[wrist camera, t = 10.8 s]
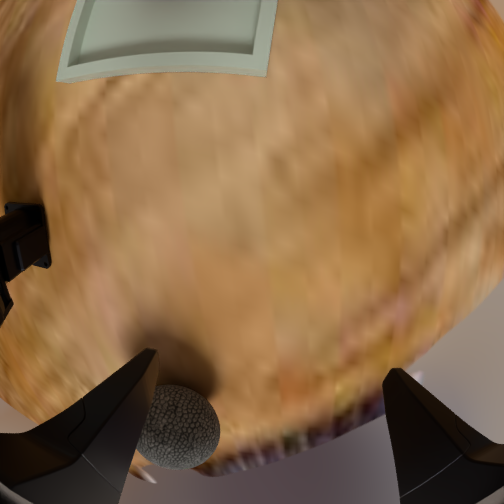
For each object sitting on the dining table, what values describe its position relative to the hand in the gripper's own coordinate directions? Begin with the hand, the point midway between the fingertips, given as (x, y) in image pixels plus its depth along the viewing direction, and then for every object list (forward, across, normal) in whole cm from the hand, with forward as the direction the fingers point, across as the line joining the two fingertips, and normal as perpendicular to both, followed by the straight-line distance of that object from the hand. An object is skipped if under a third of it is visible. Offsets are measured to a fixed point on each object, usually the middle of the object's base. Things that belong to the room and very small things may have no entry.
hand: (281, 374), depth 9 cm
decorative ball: (+13, +7, +20) cm, 25 cm away
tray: (+12, +10, -20) cm, 26 cm away
